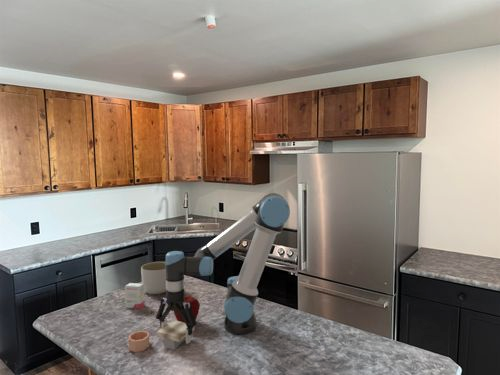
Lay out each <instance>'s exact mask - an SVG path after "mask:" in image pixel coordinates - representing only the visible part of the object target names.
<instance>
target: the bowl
mask: <svg viewBox="0 0 500 375" xmlns="http://www.w3.org/2000/svg"><path fill="white" fill-rule="evenodd" d="M150 341H151V340H150V332H149V331H146V330H139V331H138V330H137V331H134V332H132V333H130V334H129V335H128V351H130V352H133V353H139V352H143V351H144V352H145V350H147V349H148V348H149V347H150V346H151V345H150Z"/></svg>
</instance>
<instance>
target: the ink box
mask: <svg viewBox="0 0 500 375" xmlns="http://www.w3.org/2000/svg"><path fill="white" fill-rule="evenodd" d="M124 299H125V308H126V309H140V310H141V309H142V308H143V307H144V306H145V290H144V284H142V283H136V282H134V283H133V282H129V283H128V284H126V285H125V286H124Z"/></svg>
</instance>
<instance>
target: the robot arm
mask: <svg viewBox="0 0 500 375" xmlns="http://www.w3.org/2000/svg"><path fill="white" fill-rule="evenodd" d="M290 215H291V210H290V205H289V202H287V200H286V199H285V198H284V197H283V196H282V195H280V194H278V193H276V192H274V193H271V192H270V193H268V194H266V195H264V196H263V197H262V198H261V199H259V201H258V202H257V203H256V204H254V205H252V207H251V209H250V211H249V212H247V213H246V214H245V215H244V216H242V217H241V218H239V219H238V220H237V221H236V222H234V223H233V224H231V225H230V226H229V227H228V228H226V229H224V231H222V232H221V233H220V234H219V235H217V236H216V237H214V238H212V240H210V241H209V242H208V243H207V244H205V245H204V246H201V247H200V248H198V249H197V250H196V252H195V254H194V256H185V254H184V252H183V251H182V250H180V251H179V250H173V251H168V252H167V253H166V254H165V261H164V262H165V268H166V289H167V290H166V292H165V296H164V297H163V298H161V299H160V301H159V302H160V304H159V307H158V311H157V313H156V317H155V319H156V320H159V327H160V329H161V328H163V327H164V326H166V325H167V324H168V322H167V319H166V318H167V316H168V315H170V312H171V311H172V312H174V311H176V312H178V313H179V314H180V315H181V317H182V319H183V320H184V322H185V324H186V326H187V327H186V340H185V344H187V345H188V344H189V343H190V342H192V335H193V331H192V328H193V327H194V328H195V327H196V326H197V325H198V323H197V319H196V320H195V317H194V315H193V312H192V309H191V303H190V302H188V303H185V302H184V296H185V276H202V277H205V276H211V275H212V274H213V270H214V260H215V259H217V258H218V257H219V256H220V255H222V254H223V253H225V252H226V251H227V250H229V249H230V248H231V247H233V246H234V245H236V244H237V243H238V242H240V241H241V240H242V239H243V238H245V237H247V236H248V235H249V234H250V233H252V232H253V231H254V233H253V236H252V239H251V242H250V245H249V247H248V251H247V252H246V255H245V258H244V261H243V264H242V266H241V269H240V272H239V274H238V275H236V276H230V277H228V278H227V283H226V284H227V285H226V286H227V290H226V291H227V293H226V297H225V303H224V305H223V307H224V308H223V309H224V314H225V317H224V322H223V327H224V330H225V331H226V332H228V333H229V334H234V335H244V334H245V335H246V334H250V333H253V332H254V331H255V330H256V329H257V327H258V322H257V318H256V314H255V312H254V310H255V309H254V306H255V304H256V300H257V298H258V295H259V290H258V288H257V287H258V285H259V282H260V280H261V277H262V274H263V272H264V269H265V266H266V263H267V261H268V258H269V255H270V253H271V250H272V247H273V245H274V242H275V240H276V236H277V235H278V234H281V233H282V232H283V229H284V225H285V224H286V223H287V222H288V220H289V218H290ZM166 305H167V307H166ZM181 309H182V311H180V310H181ZM185 310H186V311H185Z"/></svg>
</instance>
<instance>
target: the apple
mask: <svg viewBox="0 0 500 375" xmlns="http://www.w3.org/2000/svg"><path fill="white" fill-rule="evenodd" d="M184 302H185V303H188V302H190V303H191V309H192V312H193V315H194V317H195V320H196V321H197V318H198V315H199V312H200V311H199V310H200V306H201V304H200V302H199V300H198V299H197V298H196V297H194V296H191V295H186V296H184ZM180 311H182V309H181V310H180ZM185 311H186V310H185ZM173 314H174V317H175V319H176V321H180V322H184V320H183V319H182V317H181V315H180V314H179V313H178V312H176V311H173ZM184 323H185V322H184Z"/></svg>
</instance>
